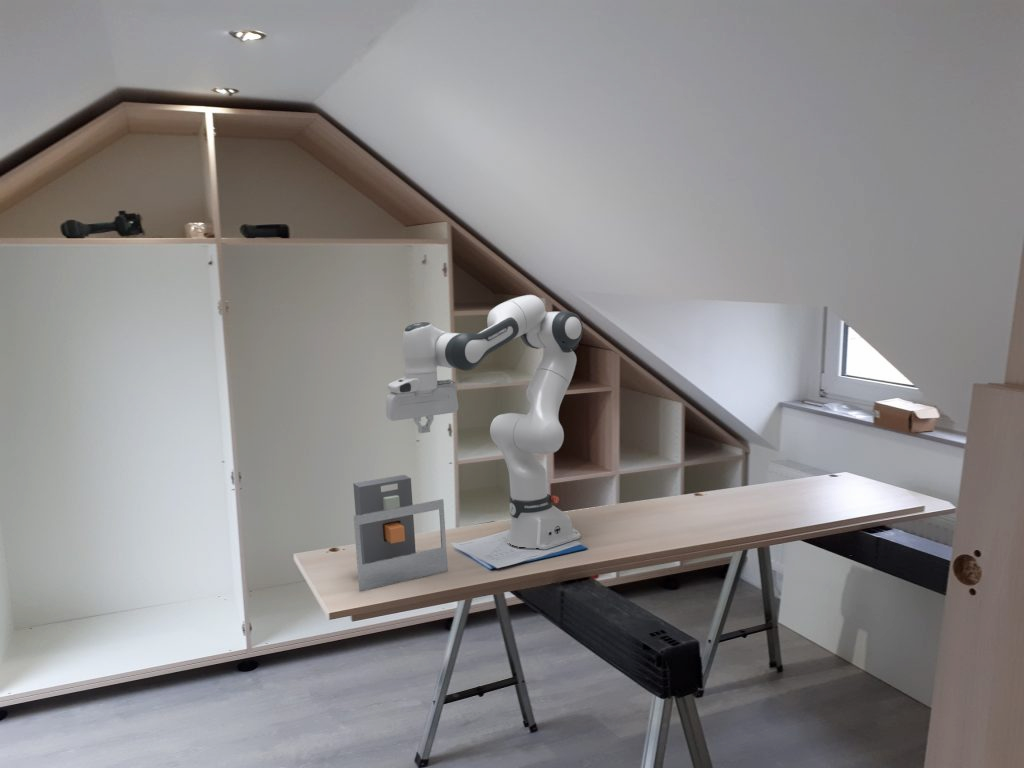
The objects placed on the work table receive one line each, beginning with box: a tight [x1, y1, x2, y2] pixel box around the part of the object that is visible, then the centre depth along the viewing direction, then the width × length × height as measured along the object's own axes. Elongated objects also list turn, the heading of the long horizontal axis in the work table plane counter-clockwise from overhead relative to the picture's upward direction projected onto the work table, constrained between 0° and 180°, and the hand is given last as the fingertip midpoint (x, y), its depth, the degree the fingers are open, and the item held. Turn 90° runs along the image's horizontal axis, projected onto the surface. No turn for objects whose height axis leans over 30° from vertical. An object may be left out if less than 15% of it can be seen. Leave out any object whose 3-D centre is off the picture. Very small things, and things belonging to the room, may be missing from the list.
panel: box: [352, 474, 417, 564], centre depth 235 cm, size 7×15×26 cm, turn 118°
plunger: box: [383, 521, 405, 544], centre depth 233 cm, size 7×4×4 cm, turn 28°
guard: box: [353, 498, 449, 592], centre depth 231 cm, size 8×25×20 cm, turn 118°
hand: (424, 432), depth 232 cm, fingers closed
